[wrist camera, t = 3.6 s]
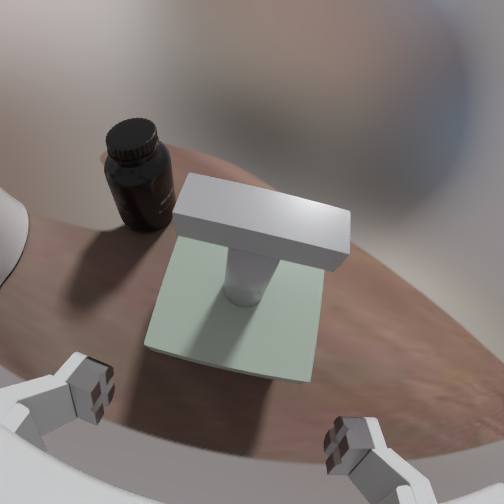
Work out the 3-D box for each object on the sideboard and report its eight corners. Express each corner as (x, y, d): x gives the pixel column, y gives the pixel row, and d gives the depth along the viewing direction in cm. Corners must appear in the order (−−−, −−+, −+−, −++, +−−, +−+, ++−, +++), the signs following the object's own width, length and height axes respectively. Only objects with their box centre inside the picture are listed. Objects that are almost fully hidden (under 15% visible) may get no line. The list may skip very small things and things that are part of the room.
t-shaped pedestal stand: (151, 350, 22) (90, 301, 10) (191, 223, 27) (184, 110, 16) (299, 383, 22) (383, 367, 11) (317, 252, 27) (378, 158, 16)
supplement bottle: (182, 226, 33) (172, 150, 23) (124, 240, 31) (92, 169, 21) (171, 182, 36) (162, 105, 25) (119, 194, 34) (95, 120, 24)
